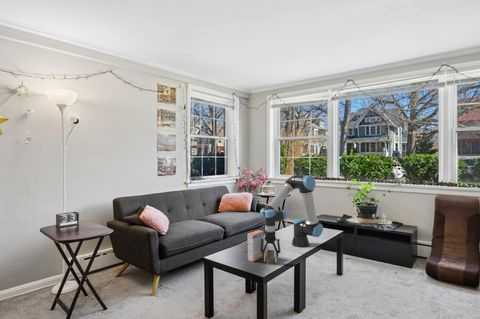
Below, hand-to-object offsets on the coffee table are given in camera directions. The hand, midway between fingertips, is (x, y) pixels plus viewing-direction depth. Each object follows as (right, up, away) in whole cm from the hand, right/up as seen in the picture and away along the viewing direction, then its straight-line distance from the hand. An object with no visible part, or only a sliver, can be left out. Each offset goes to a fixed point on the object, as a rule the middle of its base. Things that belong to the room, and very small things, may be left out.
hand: (270, 261), depth 218 cm
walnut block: (0, -1, 0) cm, 1 cm away
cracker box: (-10, -1, +9) cm, 13 cm away
